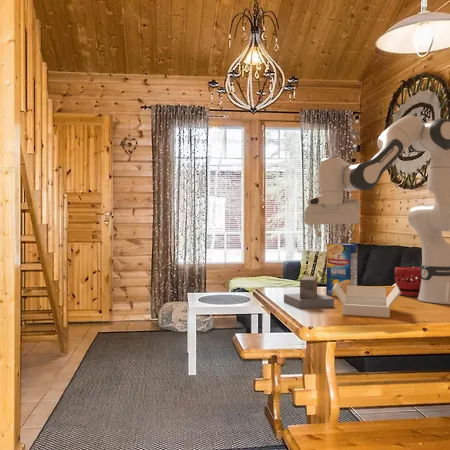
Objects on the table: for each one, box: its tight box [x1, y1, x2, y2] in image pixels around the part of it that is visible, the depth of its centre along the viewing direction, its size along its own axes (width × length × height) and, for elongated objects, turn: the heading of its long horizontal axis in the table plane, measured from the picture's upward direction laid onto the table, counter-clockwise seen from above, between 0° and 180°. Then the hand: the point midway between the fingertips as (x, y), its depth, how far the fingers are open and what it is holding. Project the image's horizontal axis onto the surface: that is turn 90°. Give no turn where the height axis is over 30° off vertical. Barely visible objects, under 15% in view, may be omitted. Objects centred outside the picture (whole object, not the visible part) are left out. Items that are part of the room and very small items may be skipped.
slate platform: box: [283, 292, 335, 309], centre depth 178 cm, size 14×14×3 cm
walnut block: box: [299, 275, 318, 299], centre depth 178 cm, size 12×5×7 cm, turn 163°
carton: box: [333, 283, 401, 318], centre depth 167 cm, size 21×22×9 cm
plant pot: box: [394, 266, 422, 298], centre depth 204 cm, size 13×13×12 cm
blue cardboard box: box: [325, 242, 358, 297], centre depth 201 cm, size 7×11×22 cm, turn 52°
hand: (332, 236), depth 177 cm, fingers open, 8 cm apart
